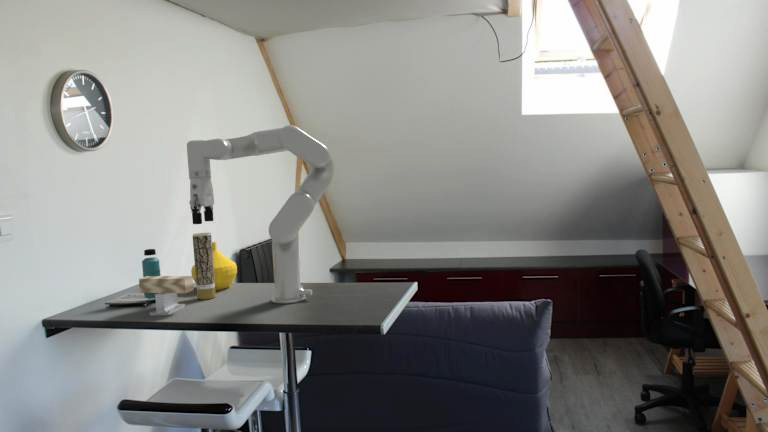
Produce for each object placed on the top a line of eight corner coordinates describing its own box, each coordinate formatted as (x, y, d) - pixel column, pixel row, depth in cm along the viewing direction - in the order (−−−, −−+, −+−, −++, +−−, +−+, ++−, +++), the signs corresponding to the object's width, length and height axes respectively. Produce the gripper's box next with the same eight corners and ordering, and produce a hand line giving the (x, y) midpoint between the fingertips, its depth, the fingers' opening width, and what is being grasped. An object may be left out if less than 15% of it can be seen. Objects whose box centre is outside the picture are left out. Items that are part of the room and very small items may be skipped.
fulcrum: (184, 306, 213) (183, 287, 213) (168, 315, 201) (167, 295, 201) (166, 306, 214) (165, 287, 214) (149, 315, 202) (148, 295, 202)
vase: (182, 291, 239) (179, 245, 238) (212, 282, 256) (209, 239, 254) (219, 294, 232) (216, 246, 230) (247, 284, 249) (244, 239, 247)
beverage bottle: (143, 303, 221) (139, 251, 220) (145, 299, 228) (141, 248, 226) (161, 301, 223) (157, 249, 221) (163, 298, 229) (159, 247, 228)
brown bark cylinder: (210, 300, 222) (205, 234, 220) (193, 300, 223) (189, 235, 221) (218, 296, 228) (214, 232, 226) (202, 296, 230) (198, 232, 228)
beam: (193, 290, 208) (192, 276, 207) (185, 293, 203) (184, 279, 202) (148, 289, 212) (147, 276, 211) (140, 292, 207) (138, 278, 206)
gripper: (199, 175, 201) (203, 224, 202) (219, 174, 218) (222, 219, 220) (178, 176, 202) (182, 225, 203) (200, 174, 219) (203, 220, 220)
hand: (203, 222), depth 211 cm, fingers open, 9 cm apart
